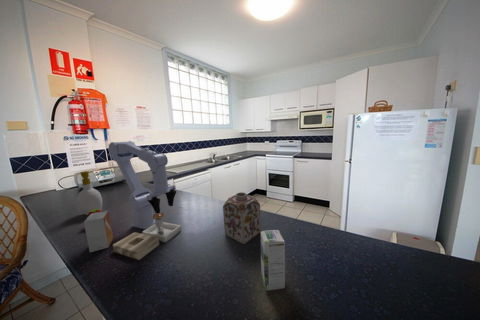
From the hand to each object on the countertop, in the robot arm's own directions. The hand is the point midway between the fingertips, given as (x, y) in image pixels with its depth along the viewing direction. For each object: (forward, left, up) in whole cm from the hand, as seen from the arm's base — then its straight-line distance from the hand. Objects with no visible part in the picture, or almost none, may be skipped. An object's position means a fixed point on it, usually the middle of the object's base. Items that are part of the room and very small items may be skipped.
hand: (164, 209), depth 78 cm
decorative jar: (+35, +8, -11) cm, 38 cm away
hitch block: (-2, -14, -10) cm, 18 cm away
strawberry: (-41, -7, -11) cm, 43 cm away
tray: (0, -3, -10) cm, 11 cm away
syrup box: (+52, -12, -11) cm, 55 cm away
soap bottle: (-60, +1, -11) cm, 61 cm away
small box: (-19, -17, -11) cm, 27 cm away
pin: (0, -4, -10) cm, 11 cm away
